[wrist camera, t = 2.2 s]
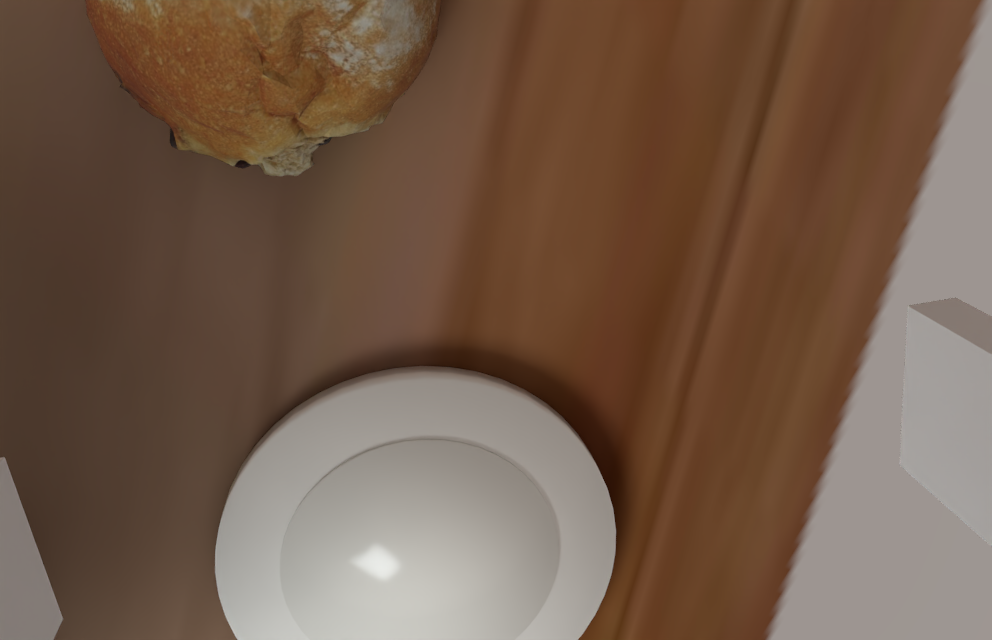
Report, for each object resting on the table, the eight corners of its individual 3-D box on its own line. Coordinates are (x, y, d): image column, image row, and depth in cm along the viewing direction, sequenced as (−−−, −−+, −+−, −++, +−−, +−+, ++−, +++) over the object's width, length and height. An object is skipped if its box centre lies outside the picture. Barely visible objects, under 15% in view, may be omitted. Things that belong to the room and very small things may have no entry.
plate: (138, 589, 34) (130, 613, 32) (384, 285, 31) (385, 299, 30) (448, 752, 39) (451, 778, 37) (683, 502, 36) (695, 521, 35)
